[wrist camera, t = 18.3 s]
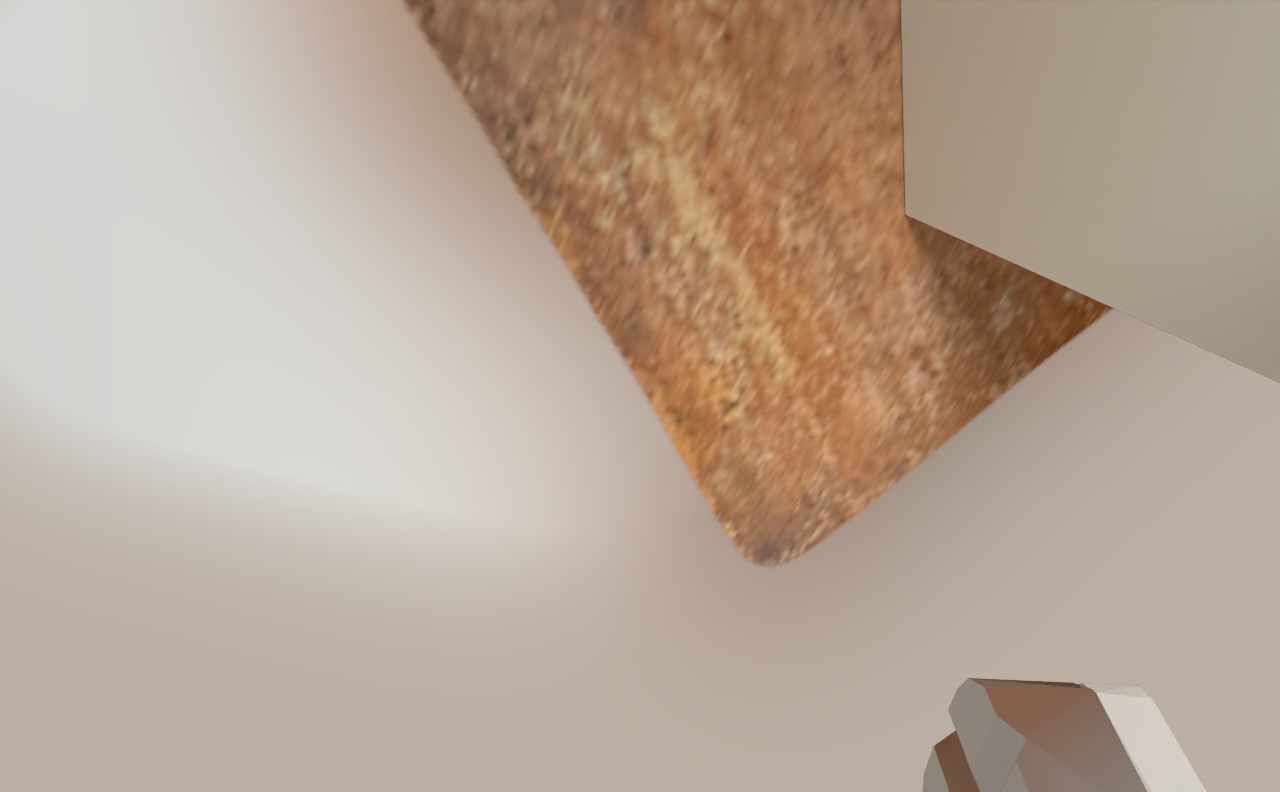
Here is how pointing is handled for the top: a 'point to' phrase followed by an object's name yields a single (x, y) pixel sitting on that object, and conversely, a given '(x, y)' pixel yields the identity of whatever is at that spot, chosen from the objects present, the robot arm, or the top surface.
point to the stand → (1109, 152)
